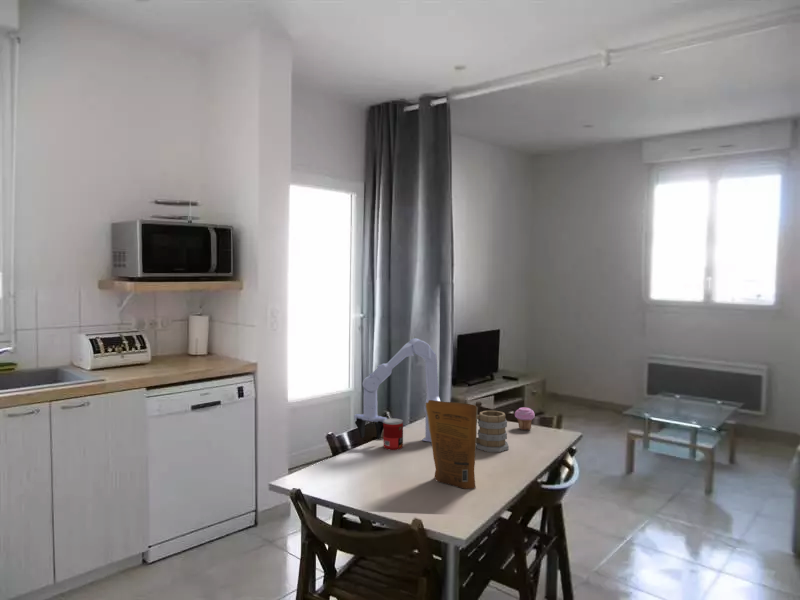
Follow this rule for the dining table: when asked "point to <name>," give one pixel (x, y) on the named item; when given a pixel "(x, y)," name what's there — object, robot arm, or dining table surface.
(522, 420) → the cupcake
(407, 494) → the dining table surface
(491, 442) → the tankard
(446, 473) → the pancake mix bag
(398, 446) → the canned food
